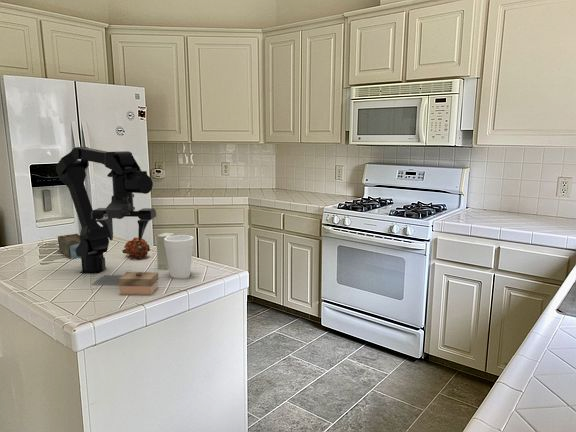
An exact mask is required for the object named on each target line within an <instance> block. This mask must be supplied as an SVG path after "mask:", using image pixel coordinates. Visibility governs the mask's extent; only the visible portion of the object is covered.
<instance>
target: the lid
mask: <svg viewBox="0 0 576 432" xmlns="http://www.w3.org/2000/svg"><path fill="white" fill-rule="evenodd" d="M156 281H157V282H158V281H159V272H155V271H154V272H151V271H148V272H147V271H143V272H142V271H141V272H140V271H127V272H125V273H123V276H121V277H120V278H119V279H118V282H119V285H118V287H120V286H152V285H153V284H154V283H155V282H156Z"/></svg>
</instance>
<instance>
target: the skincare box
mask: <svg viewBox="0 0 576 432" xmlns="http://www.w3.org/2000/svg"><path fill="white" fill-rule="evenodd" d="M174 235H176V233H173V232H172V233H171V232H164V233H160V234H159V235H156V236H155V237H156V258H157V260H156V261H157V265H156V266H157V270H163V271H169V266H168V260H167V255H166V249H165V246H164V238H166V237H168V236H174Z"/></svg>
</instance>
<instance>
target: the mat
mask: <svg viewBox="0 0 576 432" xmlns="http://www.w3.org/2000/svg"><path fill="white" fill-rule="evenodd" d="M123 275H124V274H123ZM123 275H121V274H120V275H119V274H115V275H114V274H112V275H111V274H104V275H103V276H101V277H100V278H98V279H97V280H96V281H94V282H93V283H91V284H90V286H119V282H118V279H119V278H120V277H121V276H123Z"/></svg>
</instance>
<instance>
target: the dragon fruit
mask: <svg viewBox="0 0 576 432" xmlns="http://www.w3.org/2000/svg"><path fill="white" fill-rule="evenodd" d="M150 251H151V248H150V245H149V244H148V241H146V240H145V239H144V238H142V239H141V241H139V237H133V239H131V240H128V241H127V242H126V243H125V245H124V246H123V249H122V251H121V252H122V253H123V254H128V257H129V258H131V259H143V257H145V256H147V255H148V253H149V252H150Z"/></svg>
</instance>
